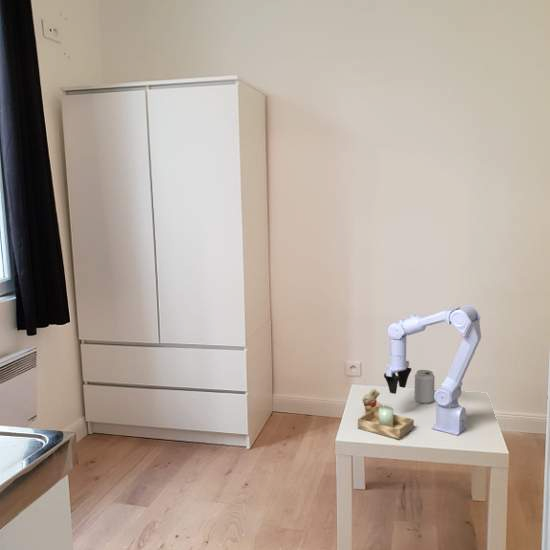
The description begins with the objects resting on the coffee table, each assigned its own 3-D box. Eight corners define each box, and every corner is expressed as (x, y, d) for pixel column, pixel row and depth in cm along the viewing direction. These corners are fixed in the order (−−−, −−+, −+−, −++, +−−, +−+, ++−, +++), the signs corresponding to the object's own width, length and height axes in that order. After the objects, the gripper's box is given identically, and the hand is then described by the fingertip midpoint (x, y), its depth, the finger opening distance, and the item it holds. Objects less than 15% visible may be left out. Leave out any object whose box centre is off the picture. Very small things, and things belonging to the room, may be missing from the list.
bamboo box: (413, 429, 205) (413, 419, 205) (399, 440, 197) (399, 430, 196) (373, 418, 215) (373, 409, 214) (357, 428, 206) (357, 419, 206)
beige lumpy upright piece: (367, 408, 224) (367, 383, 222) (386, 412, 220) (387, 387, 218) (361, 413, 219) (361, 388, 218) (381, 417, 215) (381, 391, 214)
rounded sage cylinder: (395, 426, 207) (395, 408, 206) (389, 430, 203) (389, 413, 202) (382, 422, 210) (382, 405, 209) (376, 427, 206) (376, 409, 205)
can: (433, 405, 226) (434, 375, 224) (413, 403, 228) (414, 374, 226) (434, 398, 233) (434, 369, 231) (414, 396, 235) (415, 368, 233)
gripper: (397, 347, 221) (396, 382, 224) (378, 357, 210) (378, 393, 212) (414, 350, 217) (414, 385, 219) (396, 360, 206) (396, 397, 208)
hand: (397, 389), depth 215 cm, fingers open, 7 cm apart
